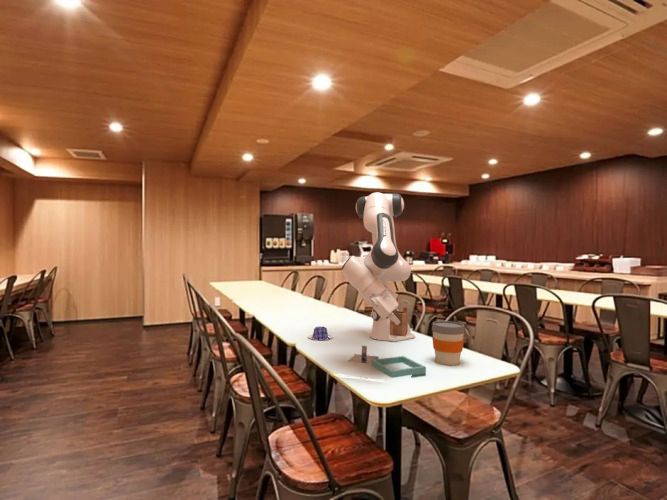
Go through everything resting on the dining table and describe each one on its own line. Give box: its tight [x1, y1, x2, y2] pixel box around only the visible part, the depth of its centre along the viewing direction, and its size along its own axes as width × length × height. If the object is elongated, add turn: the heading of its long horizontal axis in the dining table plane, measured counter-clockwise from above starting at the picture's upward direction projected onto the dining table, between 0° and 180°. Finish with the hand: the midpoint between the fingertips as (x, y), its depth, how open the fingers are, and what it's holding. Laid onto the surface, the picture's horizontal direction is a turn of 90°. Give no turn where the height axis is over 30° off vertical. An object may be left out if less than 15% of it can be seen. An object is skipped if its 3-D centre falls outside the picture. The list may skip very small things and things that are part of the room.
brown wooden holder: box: [390, 306, 409, 337], centre depth 141 cm, size 6×6×10 cm
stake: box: [348, 345, 380, 365], centre depth 152 cm, size 10×10×6 cm
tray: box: [371, 355, 427, 378], centre depth 141 cm, size 14×14×3 cm
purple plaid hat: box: [307, 326, 334, 341], centre depth 189 cm, size 12×12×5 cm
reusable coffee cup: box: [431, 320, 466, 366], centre depth 154 cm, size 13×13×15 cm
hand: (400, 321), depth 141 cm, fingers closed on brown wooden holder, 6 cm apart
